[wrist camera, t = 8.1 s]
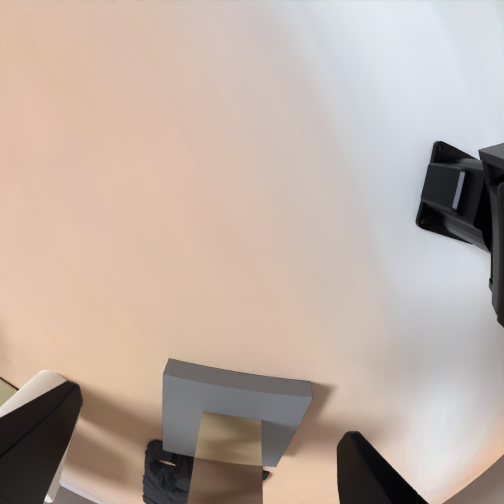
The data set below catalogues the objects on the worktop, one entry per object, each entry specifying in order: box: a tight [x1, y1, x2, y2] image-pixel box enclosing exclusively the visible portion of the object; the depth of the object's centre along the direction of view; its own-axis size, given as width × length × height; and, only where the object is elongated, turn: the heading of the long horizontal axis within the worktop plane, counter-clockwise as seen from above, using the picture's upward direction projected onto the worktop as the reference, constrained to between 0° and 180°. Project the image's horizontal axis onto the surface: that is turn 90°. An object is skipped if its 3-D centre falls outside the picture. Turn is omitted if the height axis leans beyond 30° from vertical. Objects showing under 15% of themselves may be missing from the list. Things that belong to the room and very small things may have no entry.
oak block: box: [193, 411, 262, 466], centre depth 21 cm, size 5×5×5 cm
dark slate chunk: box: [142, 441, 270, 504], centre depth 29 cm, size 15×22×5 cm
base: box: [162, 359, 313, 467], centre depth 24 cm, size 12×12×2 cm
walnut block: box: [187, 457, 263, 504], centre depth 16 cm, size 5×5×5 cm
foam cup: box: [0, 370, 83, 503], centre depth 19 cm, size 10×9×13 cm
